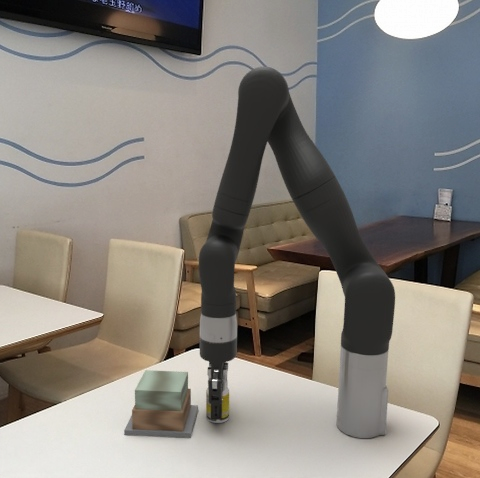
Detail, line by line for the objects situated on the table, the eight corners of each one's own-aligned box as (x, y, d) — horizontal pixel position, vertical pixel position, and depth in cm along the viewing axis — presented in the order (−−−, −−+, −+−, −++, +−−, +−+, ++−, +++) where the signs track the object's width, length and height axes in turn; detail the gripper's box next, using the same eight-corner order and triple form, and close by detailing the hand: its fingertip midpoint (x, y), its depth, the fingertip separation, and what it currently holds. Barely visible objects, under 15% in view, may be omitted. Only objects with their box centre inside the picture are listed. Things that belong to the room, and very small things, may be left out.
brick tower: (190, 406, 115) (190, 370, 114) (183, 431, 106) (183, 393, 104) (144, 404, 116) (143, 369, 114) (132, 429, 106) (131, 391, 105)
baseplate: (198, 409, 116) (198, 405, 116) (190, 437, 105) (190, 433, 105) (138, 407, 117) (137, 402, 116) (124, 434, 106) (124, 430, 106)
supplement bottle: (229, 412, 115) (229, 375, 114) (229, 423, 111) (229, 385, 109) (206, 412, 115) (206, 375, 113) (205, 423, 110) (206, 385, 109)
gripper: (234, 348, 102) (233, 431, 105) (239, 322, 116) (237, 396, 119) (194, 347, 102) (194, 429, 106) (204, 321, 117) (203, 395, 120)
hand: (217, 411), depth 113 cm, fingers closed on supplement bottle, 4 cm apart
